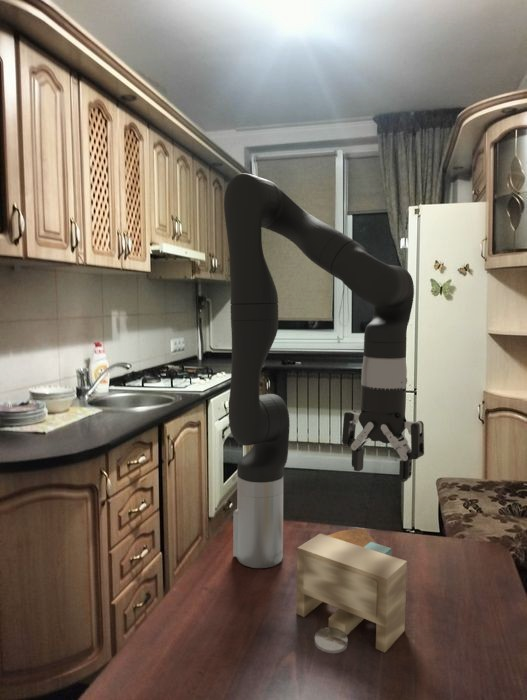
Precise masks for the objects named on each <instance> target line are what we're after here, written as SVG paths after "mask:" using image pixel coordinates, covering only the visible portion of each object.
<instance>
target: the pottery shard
mask: <svg viewBox="0 0 527 700" xmlns="http://www.w3.org/2000/svg"><path fill="white" fill-rule="evenodd" d="M326 535H327V534H326ZM327 536H330V537H333V538H336V539H339V540H342V541H345V542H349V543H352V544H355V545H358V546H361V547H365V546H366V545H367V544H369V543H370V542H373V543H376V544H378V543H377V542H376V541H375V540H374V539H373V538H372V536H371V535H370V534H369V532H368V531H366V530H365V528H357V529H346V530H345V529H344V530H342V531H336V532H332V533H330V534H328V535H327Z"/></svg>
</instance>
